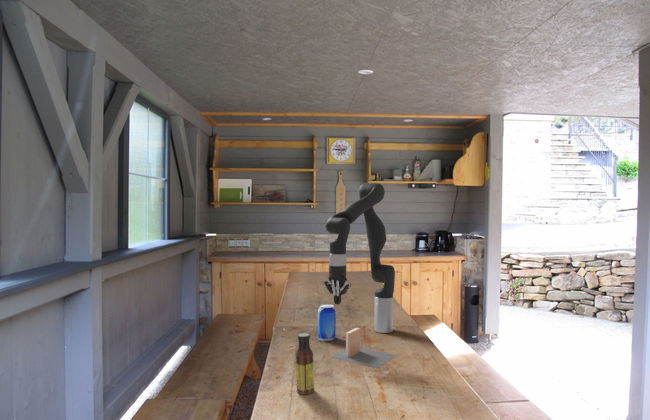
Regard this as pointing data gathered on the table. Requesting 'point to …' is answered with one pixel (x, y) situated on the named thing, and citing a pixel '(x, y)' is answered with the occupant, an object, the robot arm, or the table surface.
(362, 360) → the mat
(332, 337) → the beer can
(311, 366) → the sauce bottle
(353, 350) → the tile
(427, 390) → the table surface
